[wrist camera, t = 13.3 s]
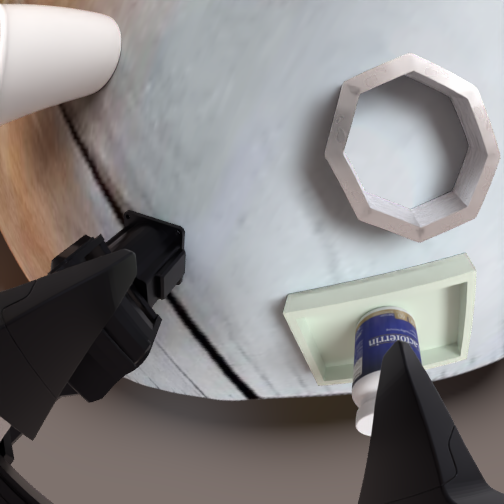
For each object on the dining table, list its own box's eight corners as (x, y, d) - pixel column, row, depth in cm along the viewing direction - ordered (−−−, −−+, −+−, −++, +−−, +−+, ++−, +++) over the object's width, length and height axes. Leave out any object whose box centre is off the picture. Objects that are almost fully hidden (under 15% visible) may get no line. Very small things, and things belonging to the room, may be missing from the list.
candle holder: (53, 46, 17) (-44, 64, 7) (116, -12, 13) (2, -24, 3) (73, 120, 21) (-29, 160, 12) (142, 69, 17) (9, 85, 8)
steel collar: (313, 188, 19) (309, 203, 17) (352, 42, 13) (355, 32, 11) (443, 236, 18) (454, 257, 15) (491, 108, 12) (513, 113, 9)
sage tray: (321, 367, 29) (318, 385, 27) (288, 294, 25) (282, 313, 23) (461, 340, 22) (466, 359, 20) (465, 252, 18) (476, 270, 16)
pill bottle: (421, 304, 21) (440, 405, 13) (405, 347, 24) (411, 438, 15) (359, 301, 22) (356, 407, 14) (350, 345, 25) (342, 439, 17)
